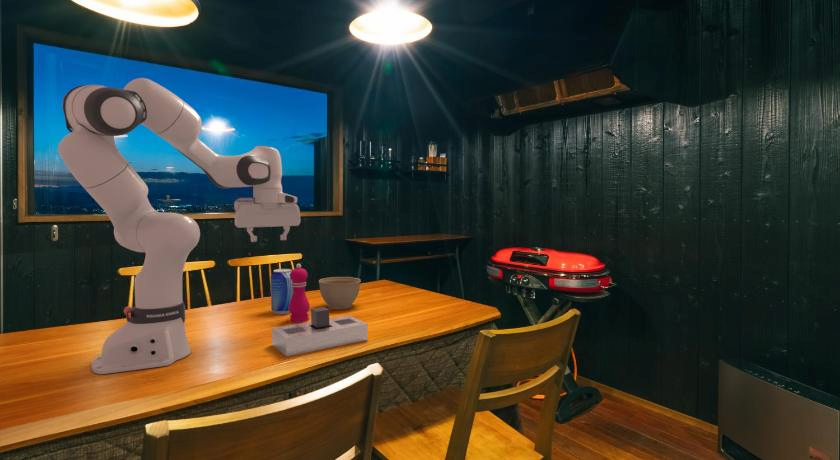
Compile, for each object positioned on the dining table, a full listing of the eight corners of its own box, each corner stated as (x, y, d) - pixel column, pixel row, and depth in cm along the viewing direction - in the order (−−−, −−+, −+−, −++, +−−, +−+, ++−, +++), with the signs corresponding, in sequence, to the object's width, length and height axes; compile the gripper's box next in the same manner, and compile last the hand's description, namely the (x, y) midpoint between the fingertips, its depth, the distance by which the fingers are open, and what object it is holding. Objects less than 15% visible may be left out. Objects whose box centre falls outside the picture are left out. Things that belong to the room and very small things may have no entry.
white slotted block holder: (286, 356, 123) (286, 338, 122) (272, 344, 132) (272, 328, 132) (367, 340, 137) (367, 323, 137) (349, 330, 147) (349, 315, 147)
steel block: (316, 345, 132) (316, 311, 131) (311, 341, 135) (311, 308, 135) (329, 342, 134) (329, 309, 134) (324, 339, 138) (323, 307, 137)
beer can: (299, 311, 172) (298, 269, 171) (282, 316, 165) (281, 272, 164) (284, 308, 176) (283, 267, 175) (266, 313, 169) (265, 270, 168)
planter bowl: (357, 312, 171) (357, 283, 170) (314, 312, 171) (314, 283, 170) (363, 302, 187) (363, 276, 186) (324, 302, 187) (323, 276, 186)
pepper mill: (304, 323, 156) (303, 265, 154) (285, 322, 157) (283, 264, 156) (313, 317, 163) (312, 262, 161) (294, 316, 164) (293, 261, 163)
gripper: (236, 197, 136) (237, 243, 137) (302, 197, 148) (302, 240, 149) (231, 197, 141) (232, 241, 142) (295, 197, 153) (295, 238, 154)
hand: (268, 240), depth 146 cm, fingers open, 8 cm apart
